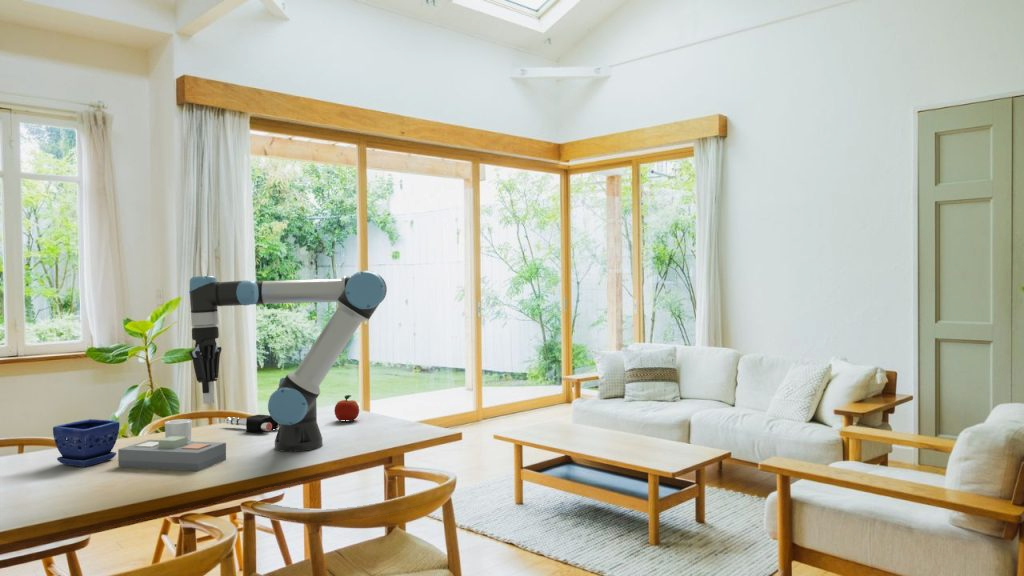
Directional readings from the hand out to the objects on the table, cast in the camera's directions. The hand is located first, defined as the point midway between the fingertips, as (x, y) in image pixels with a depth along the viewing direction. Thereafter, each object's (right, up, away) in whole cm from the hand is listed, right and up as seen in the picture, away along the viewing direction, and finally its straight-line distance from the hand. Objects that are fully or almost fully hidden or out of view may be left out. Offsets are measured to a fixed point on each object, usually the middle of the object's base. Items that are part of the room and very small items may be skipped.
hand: (208, 403), depth 211 cm
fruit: (+28, -17, +59) cm, 68 cm away
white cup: (-14, -18, +11) cm, 25 cm away
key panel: (-9, -18, -3) cm, 20 cm away
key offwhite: (-17, -16, -1) cm, 23 cm away
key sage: (-9, -14, -3) cm, 17 cm away
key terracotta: (-2, -16, -5) cm, 16 cm away
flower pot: (-37, -18, -1) cm, 41 cm away
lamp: (-5, -18, +46) cm, 49 cm away
